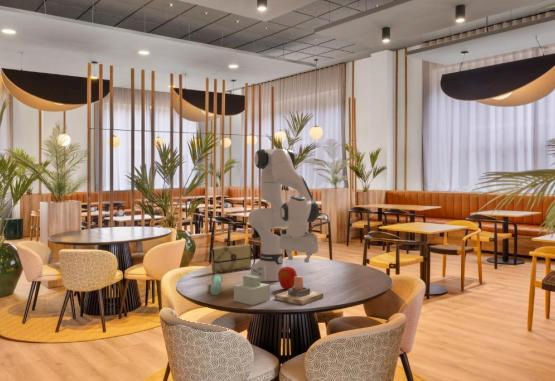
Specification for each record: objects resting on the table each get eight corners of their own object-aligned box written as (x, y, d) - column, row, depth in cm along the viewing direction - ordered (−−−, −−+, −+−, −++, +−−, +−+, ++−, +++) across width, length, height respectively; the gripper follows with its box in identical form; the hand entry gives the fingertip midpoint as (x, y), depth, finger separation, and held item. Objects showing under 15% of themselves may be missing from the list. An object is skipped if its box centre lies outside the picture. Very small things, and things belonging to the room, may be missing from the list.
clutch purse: (214, 275, 271) (214, 249, 270) (209, 273, 276) (208, 248, 276) (257, 268, 288) (257, 244, 288) (251, 267, 294) (251, 243, 293)
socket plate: (274, 299, 216) (274, 289, 216) (296, 292, 229) (296, 283, 229) (302, 305, 206) (302, 294, 206) (323, 297, 218) (323, 287, 218)
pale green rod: (218, 283, 224) (219, 271, 249) (207, 288, 223) (209, 276, 248) (223, 294, 224) (224, 281, 249) (212, 299, 224) (214, 286, 249)
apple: (274, 289, 235) (274, 265, 234) (287, 286, 241) (286, 263, 241) (287, 292, 228) (287, 268, 228) (300, 289, 235) (300, 265, 234)
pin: (292, 294, 217) (292, 277, 217) (298, 292, 220) (297, 275, 220) (299, 295, 214) (299, 278, 214) (305, 293, 218) (304, 276, 217)
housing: (233, 300, 214) (233, 276, 214) (251, 295, 223) (251, 272, 223) (252, 305, 207) (252, 280, 206) (269, 299, 216) (269, 275, 215)
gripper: (320, 232, 212) (321, 262, 213) (285, 228, 225) (285, 257, 226) (312, 234, 207) (312, 265, 208) (277, 230, 220) (277, 259, 221)
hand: (298, 261), depth 217 cm, fingers open, 8 cm apart
